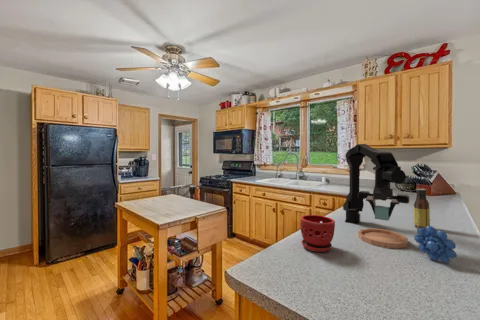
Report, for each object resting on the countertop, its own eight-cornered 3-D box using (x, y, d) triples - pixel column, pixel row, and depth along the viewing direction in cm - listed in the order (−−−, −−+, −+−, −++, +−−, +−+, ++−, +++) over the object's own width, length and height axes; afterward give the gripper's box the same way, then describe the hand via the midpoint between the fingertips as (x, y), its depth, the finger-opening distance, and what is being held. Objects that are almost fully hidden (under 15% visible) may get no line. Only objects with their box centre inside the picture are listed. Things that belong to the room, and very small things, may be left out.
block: (374, 218, 99) (374, 207, 99) (376, 216, 103) (376, 205, 103) (388, 220, 96) (388, 209, 96) (389, 218, 100) (389, 206, 99)
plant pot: (329, 257, 82) (329, 225, 82) (295, 248, 90) (295, 219, 90) (338, 246, 93) (338, 217, 93) (307, 239, 101) (307, 212, 101)
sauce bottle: (424, 226, 118) (424, 188, 117) (433, 230, 111) (433, 190, 111) (410, 225, 118) (411, 188, 118) (418, 229, 112) (419, 190, 112)
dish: (354, 240, 98) (354, 236, 98) (363, 230, 112) (363, 226, 112) (405, 252, 87) (405, 246, 87) (408, 238, 100) (408, 234, 100)
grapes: (410, 257, 82) (410, 225, 82) (416, 252, 86) (416, 221, 86) (453, 271, 73) (454, 234, 72) (458, 264, 77) (458, 229, 76)
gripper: (354, 181, 99) (354, 216, 99) (407, 184, 87) (407, 224, 87) (360, 178, 107) (360, 211, 108) (409, 181, 95) (409, 218, 96)
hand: (382, 216), depth 99 cm, fingers closed on block, 5 cm apart
